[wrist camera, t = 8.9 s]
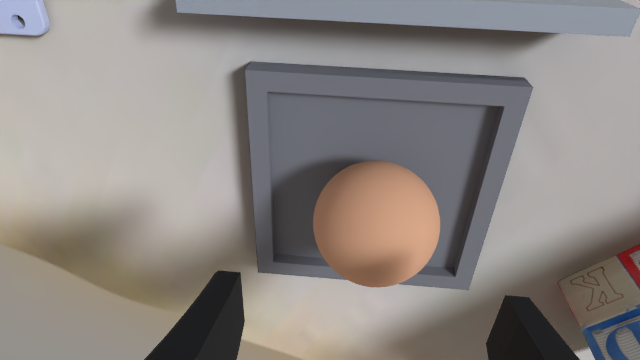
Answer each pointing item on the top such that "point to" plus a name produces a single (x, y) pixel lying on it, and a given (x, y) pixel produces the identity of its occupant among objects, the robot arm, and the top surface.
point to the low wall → (443, 13)
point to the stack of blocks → (608, 305)
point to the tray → (378, 153)
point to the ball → (376, 223)
